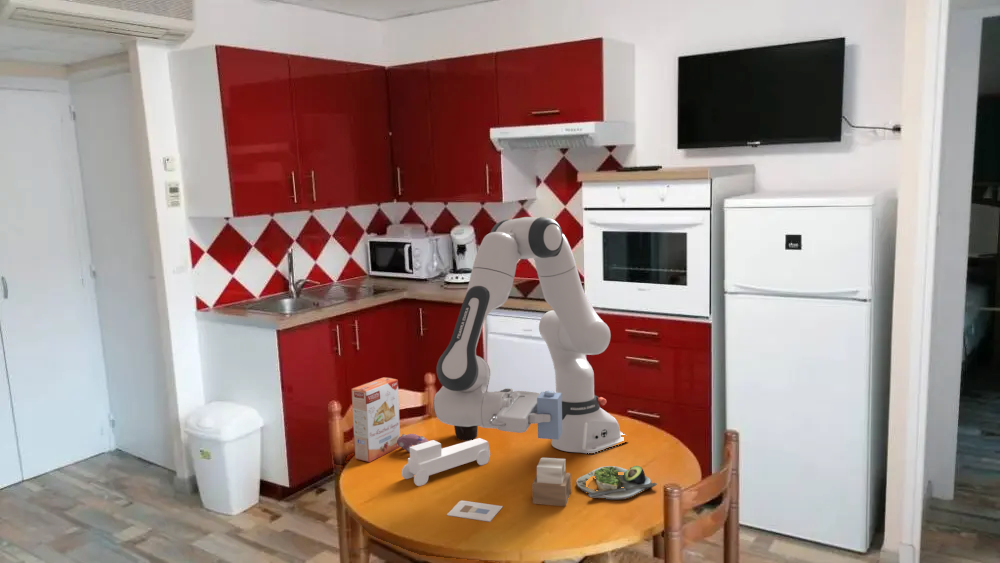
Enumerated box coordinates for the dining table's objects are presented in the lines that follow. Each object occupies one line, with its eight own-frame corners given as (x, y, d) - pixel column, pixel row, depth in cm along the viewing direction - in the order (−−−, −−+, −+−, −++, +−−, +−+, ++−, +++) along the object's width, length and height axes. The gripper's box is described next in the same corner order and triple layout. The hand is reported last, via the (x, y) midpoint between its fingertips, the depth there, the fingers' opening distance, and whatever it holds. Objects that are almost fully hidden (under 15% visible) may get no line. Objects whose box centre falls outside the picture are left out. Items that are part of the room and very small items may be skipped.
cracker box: (370, 463, 210) (365, 391, 207) (354, 459, 213) (349, 388, 210) (402, 447, 221) (398, 378, 218) (386, 443, 225) (382, 376, 221)
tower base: (539, 489, 188) (538, 455, 187) (570, 492, 186) (570, 457, 185) (532, 503, 181) (531, 468, 179) (565, 506, 179) (564, 470, 177)
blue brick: (542, 431, 184) (541, 388, 183) (562, 432, 183) (561, 389, 181) (537, 438, 180) (536, 394, 178) (558, 439, 178) (557, 395, 177)
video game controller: (399, 456, 218) (392, 439, 215) (405, 444, 222) (399, 427, 218) (429, 459, 215) (423, 442, 211) (435, 448, 218) (429, 431, 215)
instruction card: (460, 501, 184) (460, 499, 184) (502, 506, 180) (502, 505, 180) (446, 515, 176) (446, 514, 176) (490, 521, 172) (489, 520, 172)
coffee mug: (464, 430, 234) (462, 399, 232) (486, 434, 229) (485, 403, 227) (440, 441, 225) (438, 409, 223) (462, 446, 220) (461, 414, 218)
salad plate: (616, 513, 175) (615, 494, 174) (559, 491, 188) (559, 474, 187) (664, 487, 188) (664, 470, 187) (608, 468, 201) (608, 452, 200)
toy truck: (415, 488, 192) (413, 454, 191) (401, 480, 198) (399, 447, 197) (491, 462, 208) (490, 430, 206) (476, 455, 213) (475, 424, 212)
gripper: (485, 411, 174) (544, 414, 170) (508, 386, 193) (561, 388, 189) (486, 437, 174) (544, 441, 171) (508, 409, 194) (561, 412, 190)
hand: (553, 413), depth 180 cm, fingers closed on blue brick, 5 cm apart
